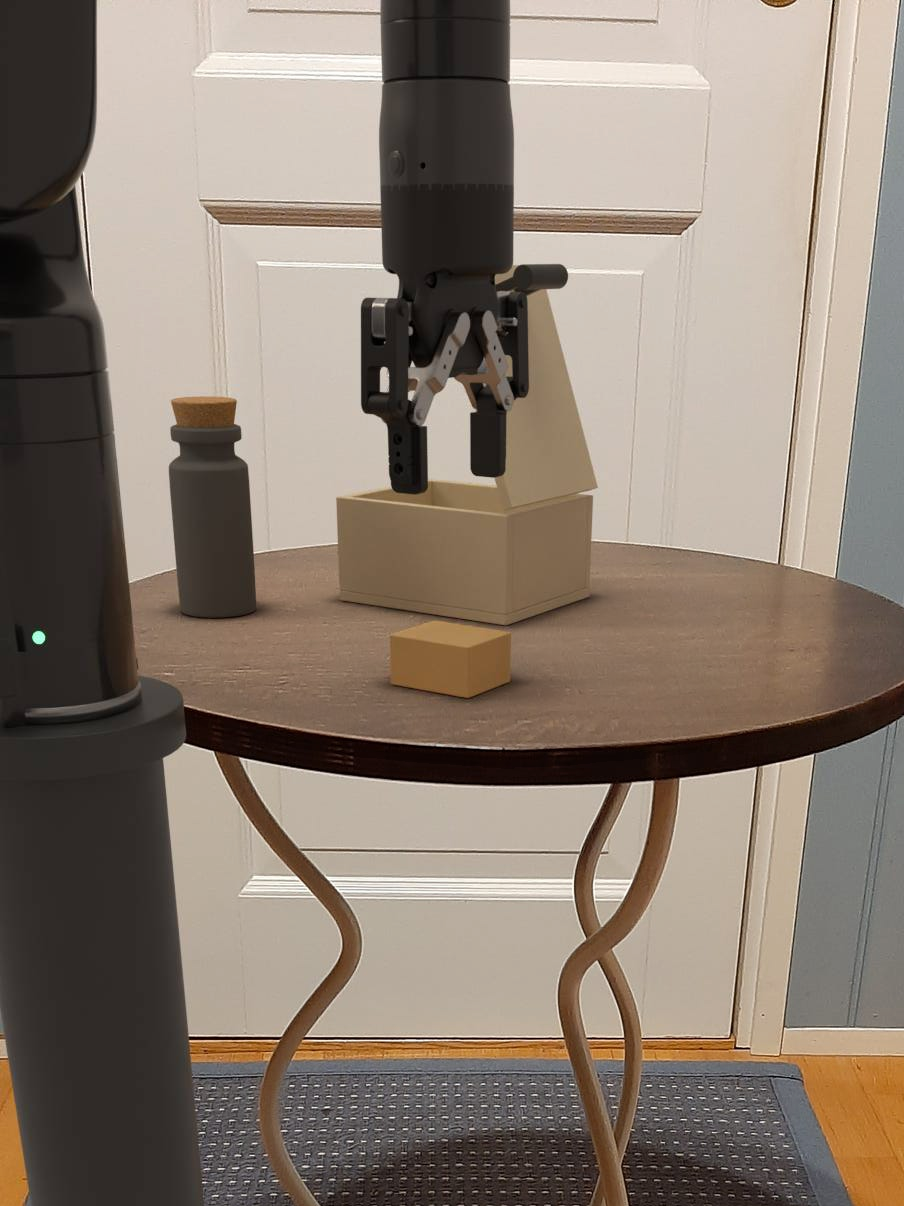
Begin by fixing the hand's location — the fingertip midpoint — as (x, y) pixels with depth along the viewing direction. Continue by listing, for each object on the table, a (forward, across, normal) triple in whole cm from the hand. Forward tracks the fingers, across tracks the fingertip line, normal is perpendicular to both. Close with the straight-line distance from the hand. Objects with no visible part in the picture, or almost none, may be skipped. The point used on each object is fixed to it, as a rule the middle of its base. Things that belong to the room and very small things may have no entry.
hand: (450, 484), depth 93 cm
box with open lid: (+12, +22, +14) cm, 28 cm away
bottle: (+12, +7, +27) cm, 30 cm away
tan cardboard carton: (+12, 0, 0) cm, 12 cm away
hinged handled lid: (-4, +22, +9) cm, 24 cm away
